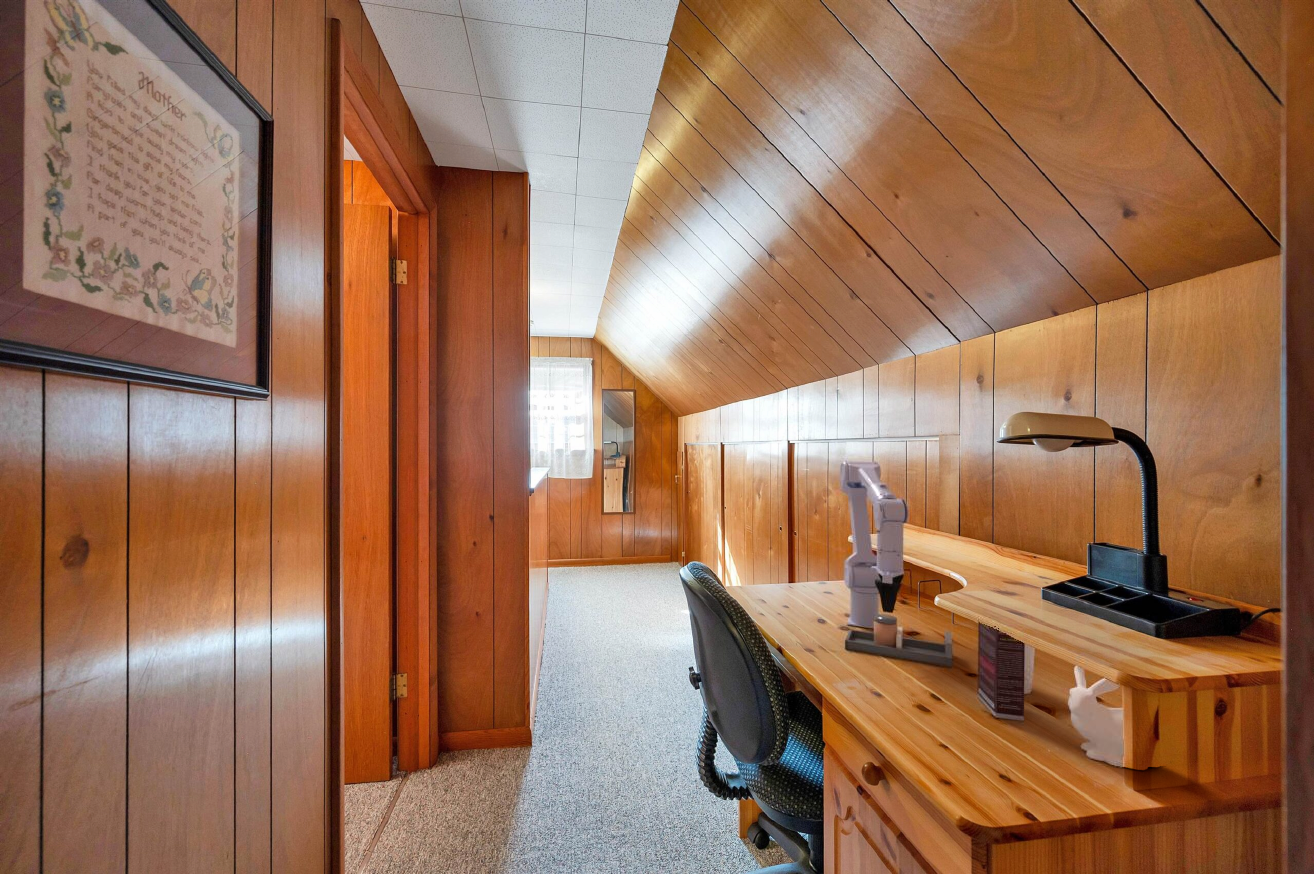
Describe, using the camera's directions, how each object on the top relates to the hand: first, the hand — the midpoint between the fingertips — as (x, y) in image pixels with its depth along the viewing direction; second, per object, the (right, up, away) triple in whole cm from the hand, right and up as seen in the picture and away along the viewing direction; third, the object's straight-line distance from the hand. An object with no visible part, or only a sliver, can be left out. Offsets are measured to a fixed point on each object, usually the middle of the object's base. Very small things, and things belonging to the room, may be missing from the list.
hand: (889, 607), depth 128 cm
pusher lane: (+1, -9, -2) cm, 10 cm away
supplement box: (+7, -9, -30) cm, 32 cm away
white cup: (+15, -10, -20) cm, 27 cm away
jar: (-1, -9, -1) cm, 9 cm away
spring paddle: (+1, -9, -2) cm, 9 cm away
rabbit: (+14, -9, -44) cm, 48 cm away
